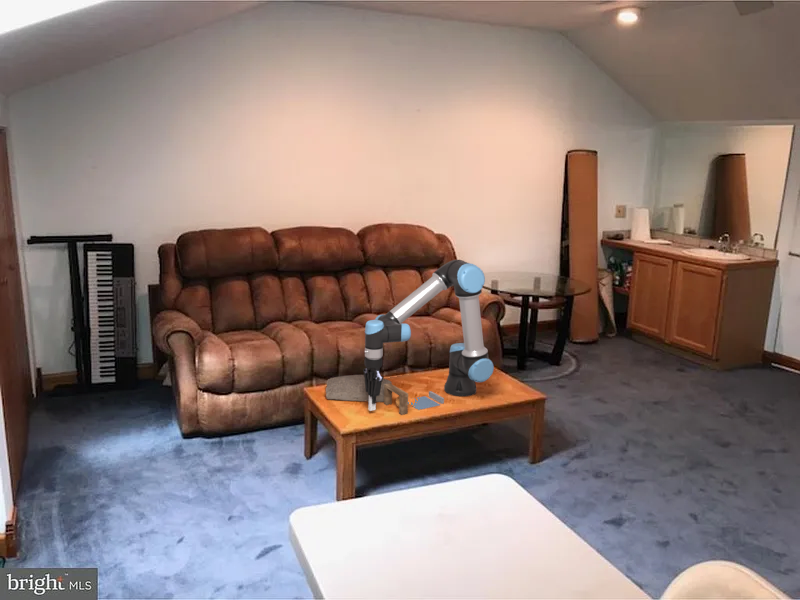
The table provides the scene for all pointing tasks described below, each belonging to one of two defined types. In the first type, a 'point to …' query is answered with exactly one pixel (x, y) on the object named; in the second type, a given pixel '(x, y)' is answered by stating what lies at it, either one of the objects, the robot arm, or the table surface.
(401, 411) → the bridge
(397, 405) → the ball
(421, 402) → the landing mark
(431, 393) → the wall
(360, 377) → the stone tablet
